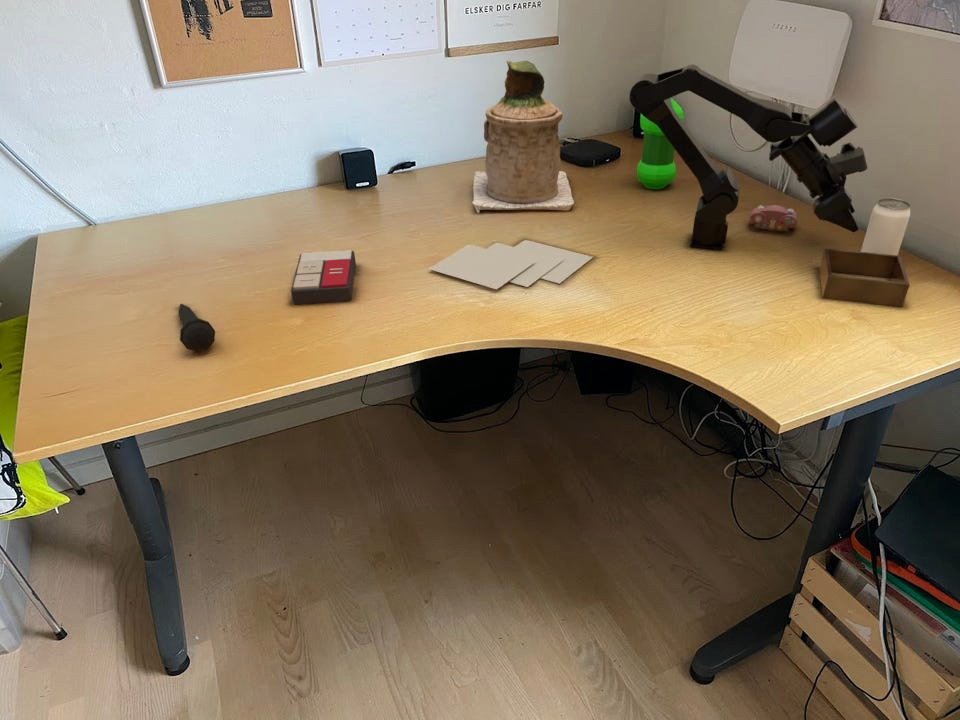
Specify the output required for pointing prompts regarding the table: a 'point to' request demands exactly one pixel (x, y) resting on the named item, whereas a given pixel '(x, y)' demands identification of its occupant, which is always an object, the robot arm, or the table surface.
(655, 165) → the plastic bottle
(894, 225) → the can
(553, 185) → the cookie jar
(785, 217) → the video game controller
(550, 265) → the paper stack
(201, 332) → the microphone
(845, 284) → the tray
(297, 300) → the calculator
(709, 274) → the table surface
